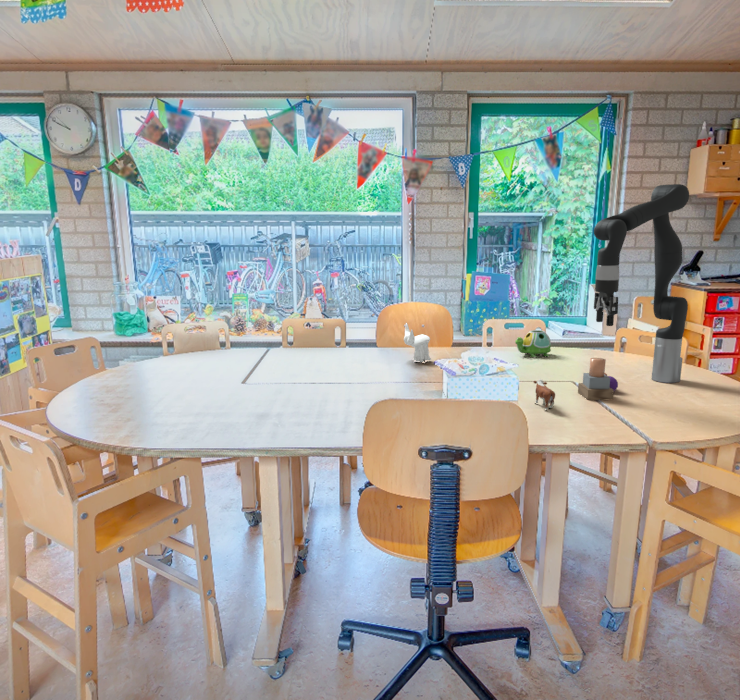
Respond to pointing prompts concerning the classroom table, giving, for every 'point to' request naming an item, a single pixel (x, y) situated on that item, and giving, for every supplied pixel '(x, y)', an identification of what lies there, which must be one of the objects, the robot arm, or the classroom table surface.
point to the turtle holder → (534, 343)
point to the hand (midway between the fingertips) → (604, 323)
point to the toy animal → (417, 344)
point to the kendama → (613, 382)
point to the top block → (596, 381)
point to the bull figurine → (544, 393)
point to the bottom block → (595, 393)
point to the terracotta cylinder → (597, 367)
